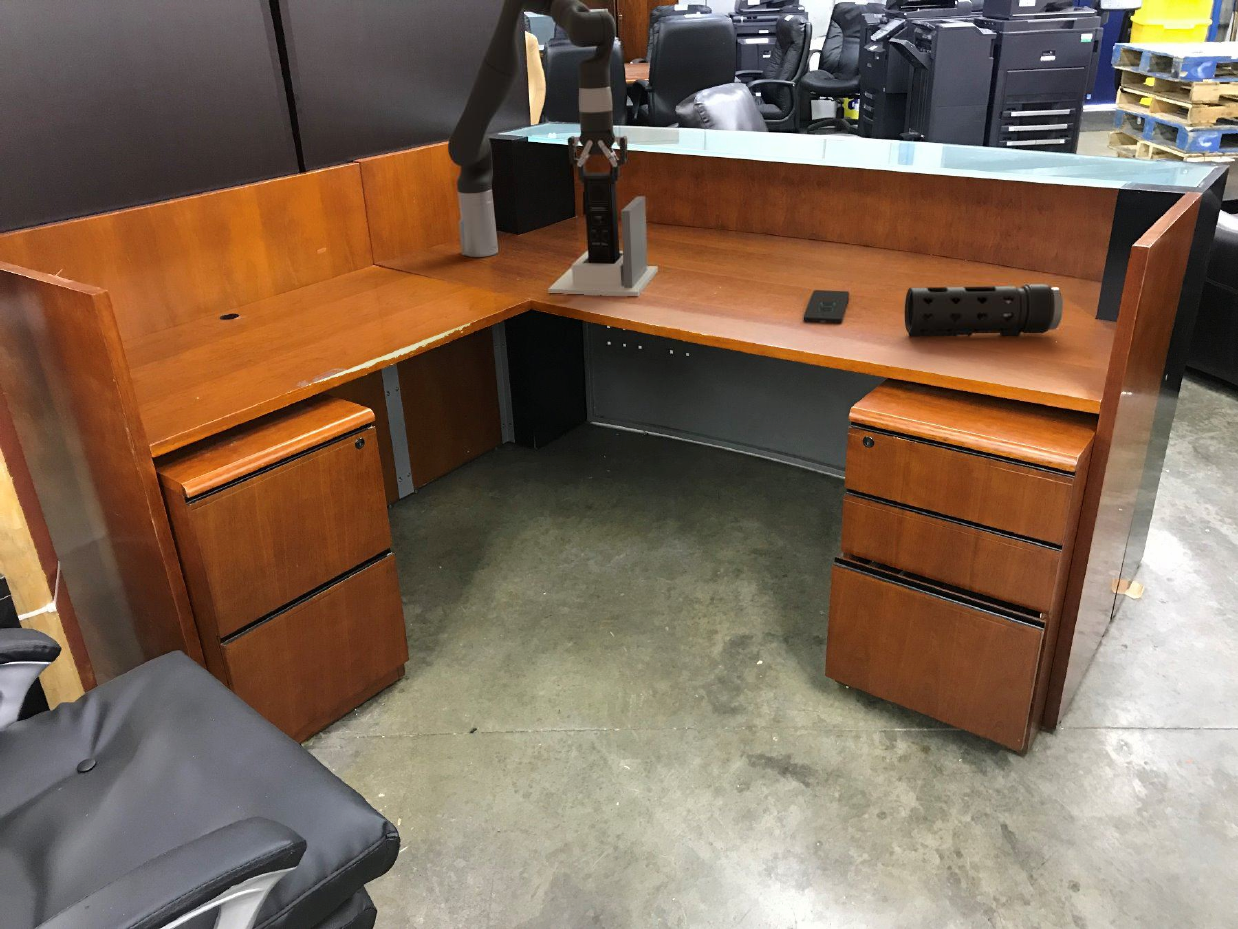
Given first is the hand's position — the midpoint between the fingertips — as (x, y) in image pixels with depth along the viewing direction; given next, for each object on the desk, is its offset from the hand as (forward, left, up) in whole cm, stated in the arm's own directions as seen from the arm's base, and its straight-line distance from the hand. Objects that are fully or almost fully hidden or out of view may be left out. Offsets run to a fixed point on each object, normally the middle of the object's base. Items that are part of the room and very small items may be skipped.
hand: (599, 182), depth 225 cm
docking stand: (0, 0, -24) cm, 24 cm away
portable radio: (0, 0, -21) cm, 21 cm away
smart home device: (+55, -15, -25) cm, 62 cm away
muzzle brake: (+85, -29, -24) cm, 93 cm away
